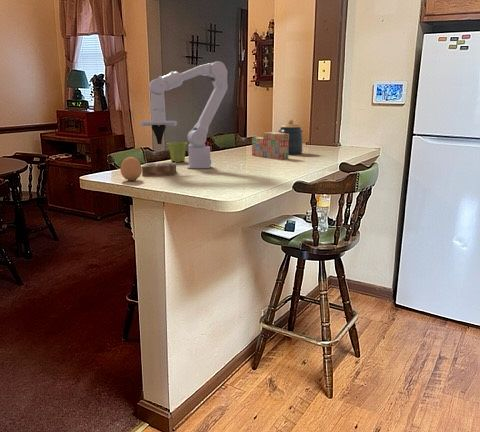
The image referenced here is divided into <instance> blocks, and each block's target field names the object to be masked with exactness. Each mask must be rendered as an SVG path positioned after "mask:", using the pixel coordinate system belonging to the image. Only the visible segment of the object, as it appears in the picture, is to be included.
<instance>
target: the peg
mask: <svg viewBox="0 0 480 432" xmlns="http://www.w3.org/2000/svg"><path fill="white" fill-rule="evenodd" d="M159 163H160V164H159V165H170V164H169V163H170V162H159Z"/></svg>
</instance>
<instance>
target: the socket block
mask: <svg viewBox="0 0 480 432" xmlns="http://www.w3.org/2000/svg"><path fill="white" fill-rule="evenodd" d="M160 163H161V162H145V163H144V164H143V165H141V167H142V172H141V176H145V177H148V176H149V177H150V176H153V177H154V176H158V177H159V176H175V174H176V173H177V162H168V163H169V164H170V165H159V164H160Z"/></svg>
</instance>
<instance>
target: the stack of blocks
mask: <svg viewBox="0 0 480 432" xmlns="http://www.w3.org/2000/svg"><path fill="white" fill-rule="evenodd" d="M288 151H289V134H286V133H279V132H273V131H268V132H263V134H262V136H258V137H251V156H252V155H254V157H258V156H259V157H260V158H266V159H272V160H288V159H289V155H290V154H289V153H288Z"/></svg>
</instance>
